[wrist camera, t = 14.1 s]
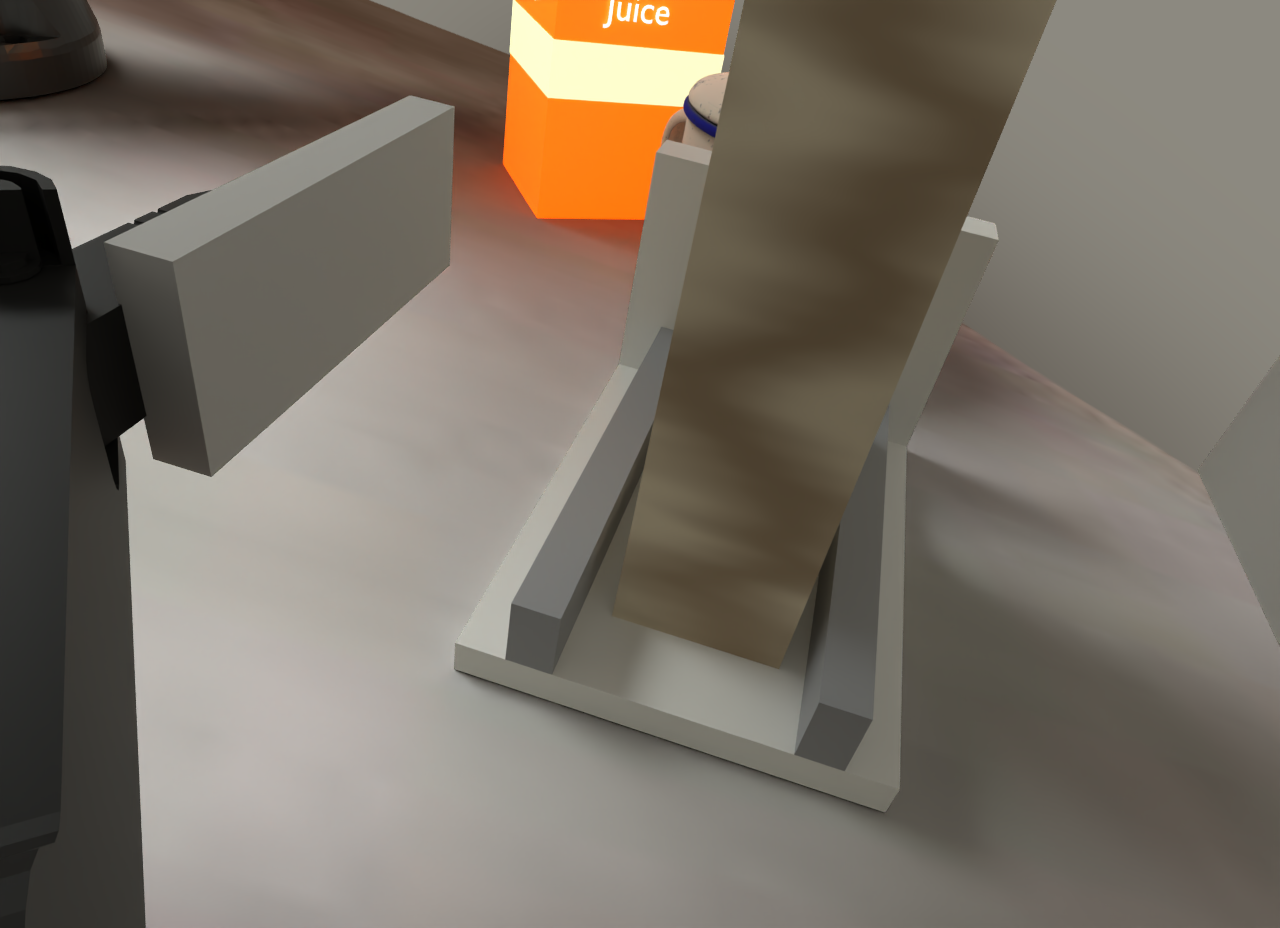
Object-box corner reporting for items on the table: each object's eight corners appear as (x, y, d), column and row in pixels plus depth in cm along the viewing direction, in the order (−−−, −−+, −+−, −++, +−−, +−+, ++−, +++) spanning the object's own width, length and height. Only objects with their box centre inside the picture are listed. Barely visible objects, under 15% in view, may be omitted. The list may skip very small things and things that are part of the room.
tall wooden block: (611, 615, 22) (768, -107, 13) (685, 432, 30) (821, -122, 20) (778, 669, 22) (1072, -39, 12) (812, 470, 29) (1016, -80, 19)
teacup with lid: (879, 339, 40) (981, 75, 33) (736, 380, 35) (819, 78, 28) (715, 231, 47) (770, -7, 40) (575, 252, 42) (610, -16, 35)
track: (884, 812, 20) (1060, 537, 15) (453, 668, 22) (470, 364, 16) (897, 445, 33) (995, 223, 27) (625, 367, 34) (666, 139, 29)
